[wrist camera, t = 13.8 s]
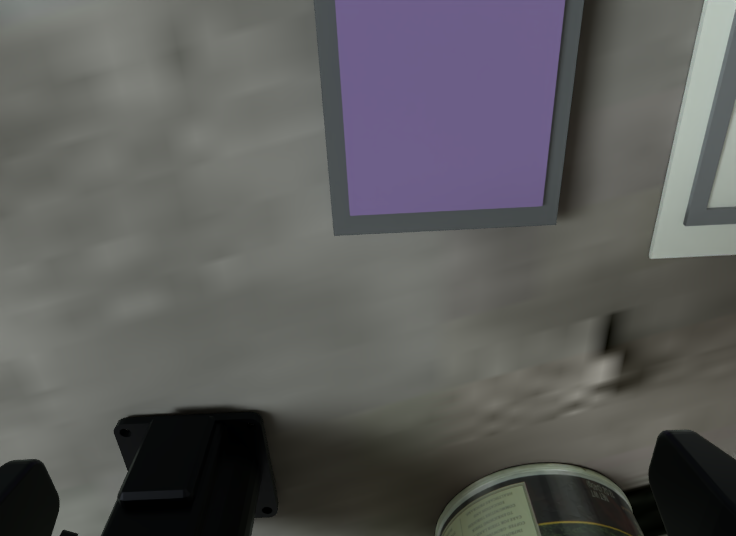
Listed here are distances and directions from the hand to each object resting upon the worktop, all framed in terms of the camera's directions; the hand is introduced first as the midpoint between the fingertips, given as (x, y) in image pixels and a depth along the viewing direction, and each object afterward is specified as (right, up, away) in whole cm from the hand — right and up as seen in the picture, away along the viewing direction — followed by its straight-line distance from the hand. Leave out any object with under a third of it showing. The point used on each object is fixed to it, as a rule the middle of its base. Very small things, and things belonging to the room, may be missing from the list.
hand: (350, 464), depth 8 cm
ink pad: (+3, +9, +10) cm, 14 cm away
